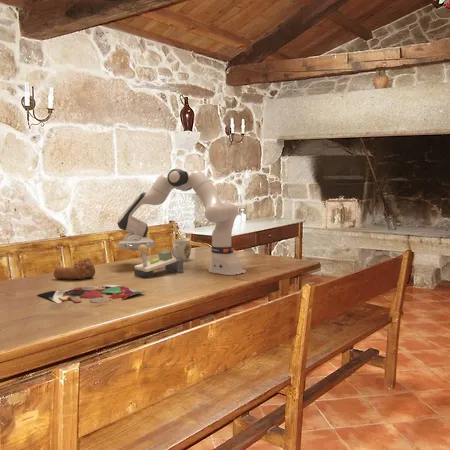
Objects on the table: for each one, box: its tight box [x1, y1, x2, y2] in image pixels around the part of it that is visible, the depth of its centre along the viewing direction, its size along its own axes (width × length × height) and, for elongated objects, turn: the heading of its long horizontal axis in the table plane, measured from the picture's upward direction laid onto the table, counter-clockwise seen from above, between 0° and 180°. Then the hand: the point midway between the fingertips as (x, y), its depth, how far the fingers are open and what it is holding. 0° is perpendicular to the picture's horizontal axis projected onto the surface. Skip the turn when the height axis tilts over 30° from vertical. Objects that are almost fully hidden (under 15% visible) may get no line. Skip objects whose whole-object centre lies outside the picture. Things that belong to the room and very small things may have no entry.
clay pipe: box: [53, 257, 96, 280], centre depth 247 cm, size 19×11×15 cm
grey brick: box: [134, 257, 184, 279], centre depth 260 cm, size 12×25×7 cm, turn 132°
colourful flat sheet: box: [37, 283, 145, 308], centre depth 213 cm, size 35×35×2 cm
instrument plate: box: [134, 245, 177, 272], centre depth 257 cm, size 20×12×14 cm, turn 132°
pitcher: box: [171, 237, 192, 262], centre depth 300 cm, size 11×18×14 cm, turn 148°
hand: (139, 246), depth 262 cm, fingers open, 8 cm apart
